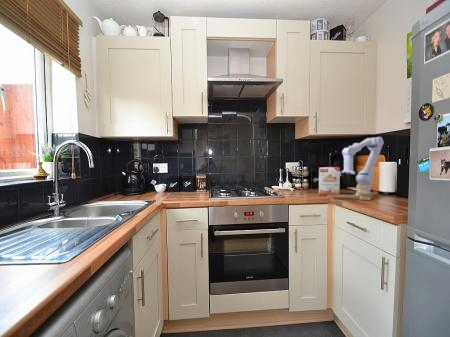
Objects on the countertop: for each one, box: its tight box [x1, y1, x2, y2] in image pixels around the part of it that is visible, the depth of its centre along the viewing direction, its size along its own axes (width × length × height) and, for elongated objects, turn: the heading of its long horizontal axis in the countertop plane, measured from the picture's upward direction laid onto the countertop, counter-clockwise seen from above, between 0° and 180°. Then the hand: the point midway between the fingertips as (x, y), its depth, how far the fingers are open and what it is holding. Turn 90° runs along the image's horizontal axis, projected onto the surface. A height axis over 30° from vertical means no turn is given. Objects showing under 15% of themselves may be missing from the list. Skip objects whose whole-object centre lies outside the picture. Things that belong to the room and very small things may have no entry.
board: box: [326, 194, 373, 201], centre depth 150 cm, size 12×24×2 cm, turn 84°
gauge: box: [356, 184, 372, 201], centre depth 145 cm, size 9×6×8 cm, turn 174°
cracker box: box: [318, 166, 341, 195], centre depth 169 cm, size 14×6×21 cm, turn 76°
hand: (348, 183), depth 154 cm, fingers open, 7 cm apart
